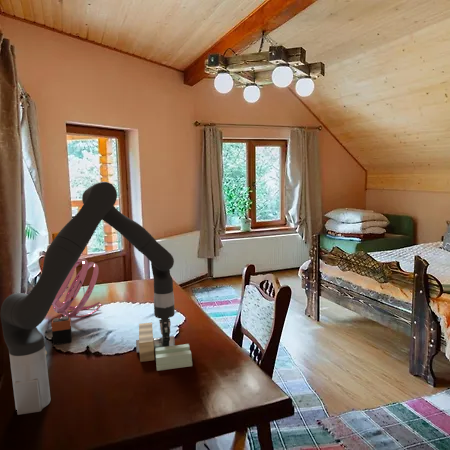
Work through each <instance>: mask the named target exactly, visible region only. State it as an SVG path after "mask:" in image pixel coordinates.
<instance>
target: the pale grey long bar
mask: <svg viewBox="0 0 450 450" xmlns="http://www.w3.org/2000/svg"><path fill="white" fill-rule="evenodd" d="M164 338H165V337H164ZM162 339H163V337H162V336H161V337H153V343H154V351H155V348H159V347H163V340H162ZM135 344H136V345H135V347H136V353H140V352H139V339H136V340H135ZM175 345H176V341H175V336H174V335H171V336H170V341H169V346H175Z"/></svg>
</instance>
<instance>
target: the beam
mask: <svg viewBox="0 0 450 450" xmlns="http://www.w3.org/2000/svg"><path fill="white" fill-rule="evenodd" d="M138 325H139V326H138V340H139V352H138V353H139V362H140V363H142V362H149V361H156V358H155V350H154V343H153V338H154V332H153V329H154V327H153V322H145V323H138Z"/></svg>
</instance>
